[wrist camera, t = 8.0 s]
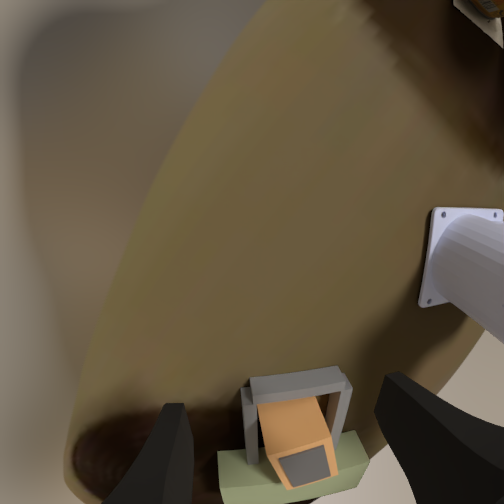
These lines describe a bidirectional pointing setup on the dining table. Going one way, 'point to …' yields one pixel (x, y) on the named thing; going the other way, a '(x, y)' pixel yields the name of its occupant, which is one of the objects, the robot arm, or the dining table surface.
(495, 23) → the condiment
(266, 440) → the orange box grey panel
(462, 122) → the dining table surface
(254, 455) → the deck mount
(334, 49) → the dining table surface
